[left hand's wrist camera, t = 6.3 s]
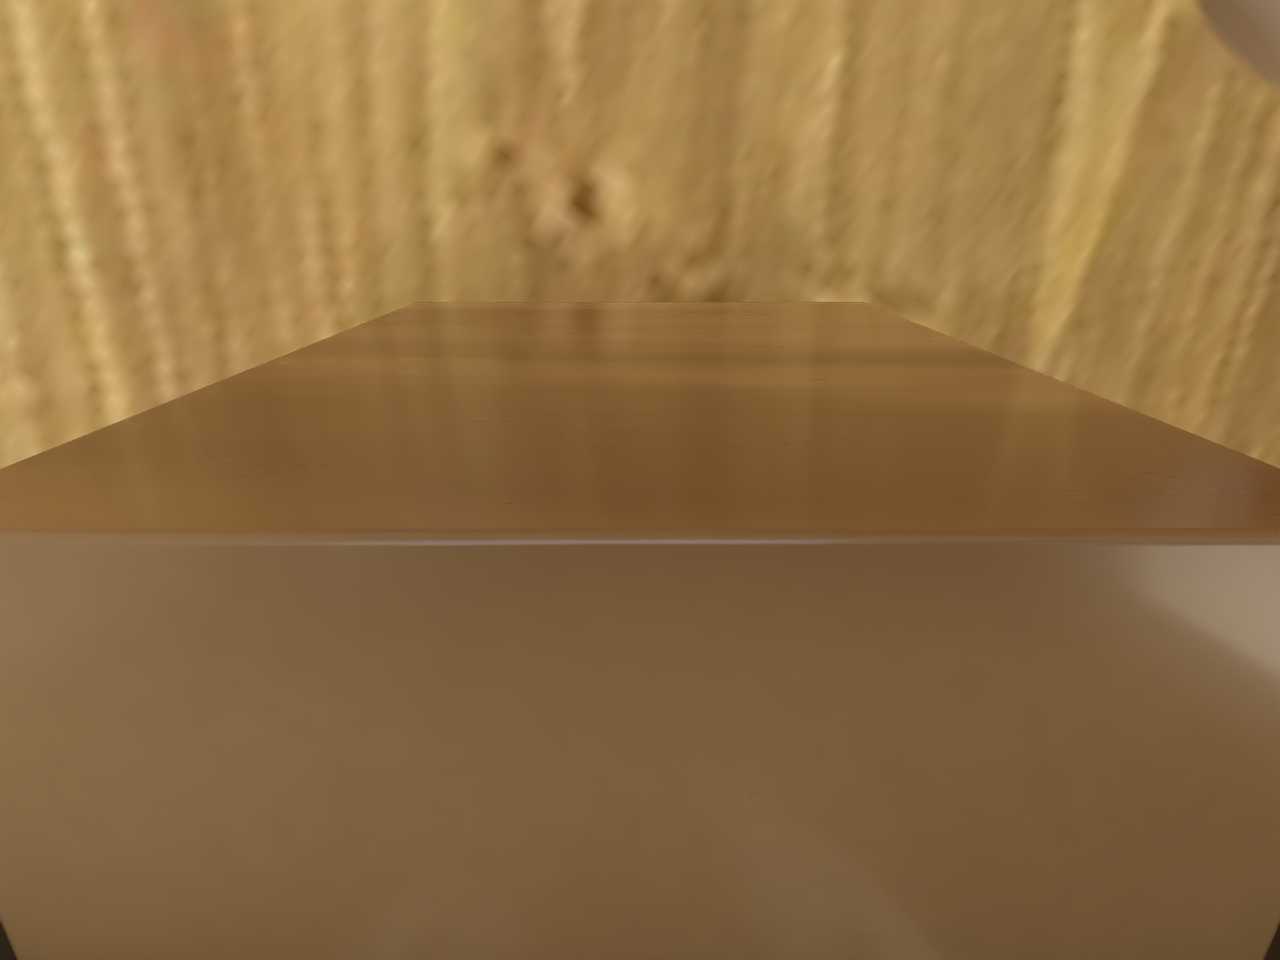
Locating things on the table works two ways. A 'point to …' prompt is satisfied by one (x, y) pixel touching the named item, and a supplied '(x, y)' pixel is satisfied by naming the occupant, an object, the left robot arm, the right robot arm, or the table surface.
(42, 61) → the table surface
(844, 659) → the box
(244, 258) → the table surface
